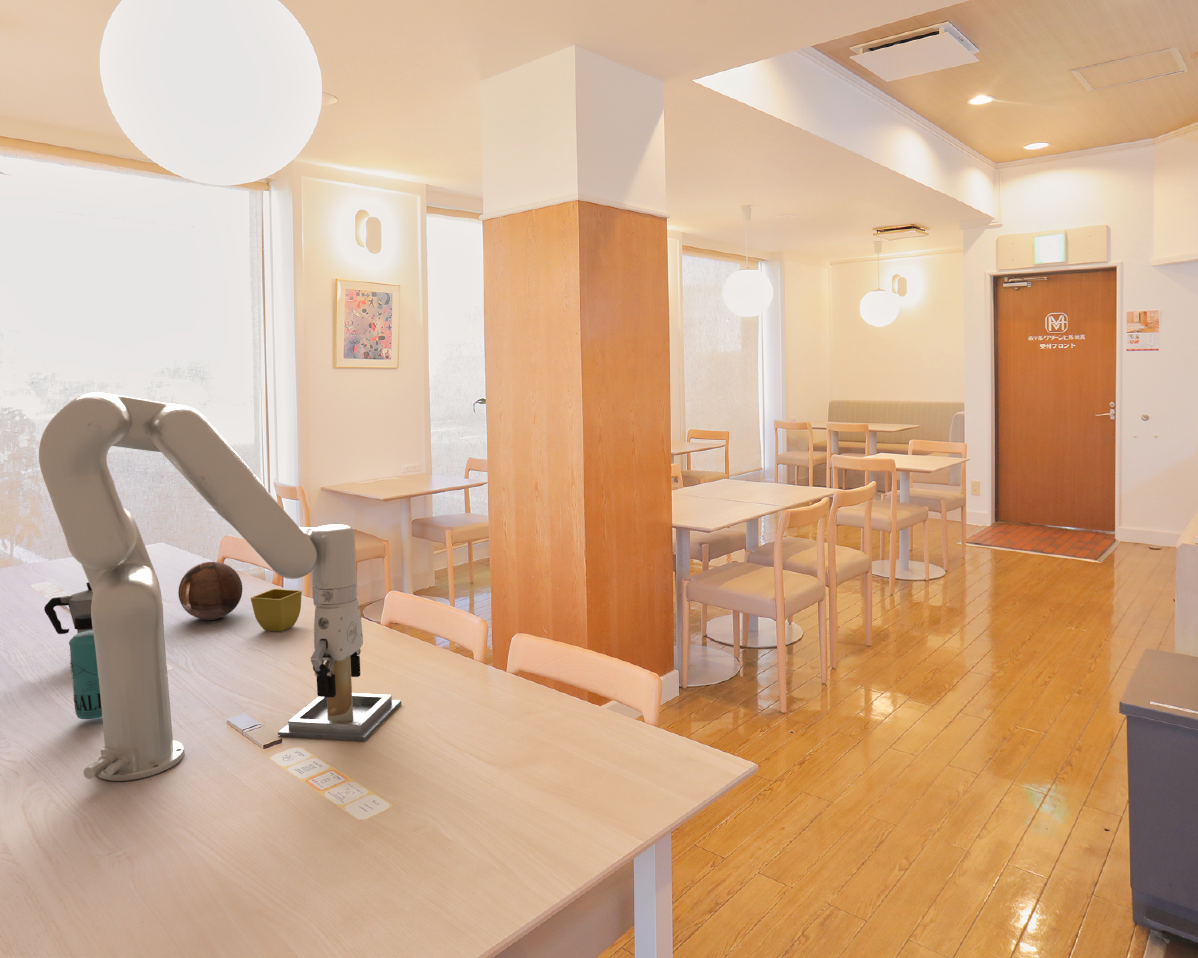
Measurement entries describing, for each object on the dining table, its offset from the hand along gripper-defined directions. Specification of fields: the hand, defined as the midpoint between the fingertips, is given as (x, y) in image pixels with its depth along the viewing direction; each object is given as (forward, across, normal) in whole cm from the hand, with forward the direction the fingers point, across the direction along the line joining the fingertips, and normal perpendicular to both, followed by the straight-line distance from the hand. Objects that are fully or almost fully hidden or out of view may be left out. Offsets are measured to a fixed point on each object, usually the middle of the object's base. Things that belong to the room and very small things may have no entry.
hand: (339, 685), depth 146 cm
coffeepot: (+7, +22, +70) cm, 74 cm away
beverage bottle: (+7, -6, +45) cm, 46 cm away
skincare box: (+6, 0, 0) cm, 6 cm away
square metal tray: (+6, 0, 0) cm, 6 cm away
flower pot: (+7, +49, +41) cm, 64 cm away
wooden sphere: (+7, +55, +63) cm, 84 cm away
